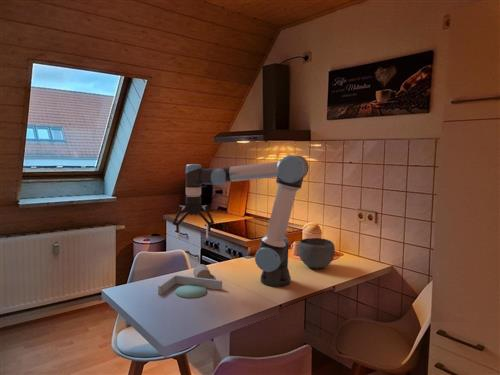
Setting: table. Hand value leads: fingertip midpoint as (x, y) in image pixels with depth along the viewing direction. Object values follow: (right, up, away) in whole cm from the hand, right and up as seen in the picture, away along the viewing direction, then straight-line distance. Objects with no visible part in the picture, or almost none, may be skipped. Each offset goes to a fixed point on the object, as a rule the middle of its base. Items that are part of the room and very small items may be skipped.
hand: (193, 238), depth 187 cm
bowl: (+66, -21, +30) cm, 75 cm away
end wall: (-11, -22, -11) cm, 27 cm away
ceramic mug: (+5, -22, +2) cm, 22 cm away
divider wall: (+3, -22, -6) cm, 23 cm away
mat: (+1, -23, -14) cm, 27 cm away
